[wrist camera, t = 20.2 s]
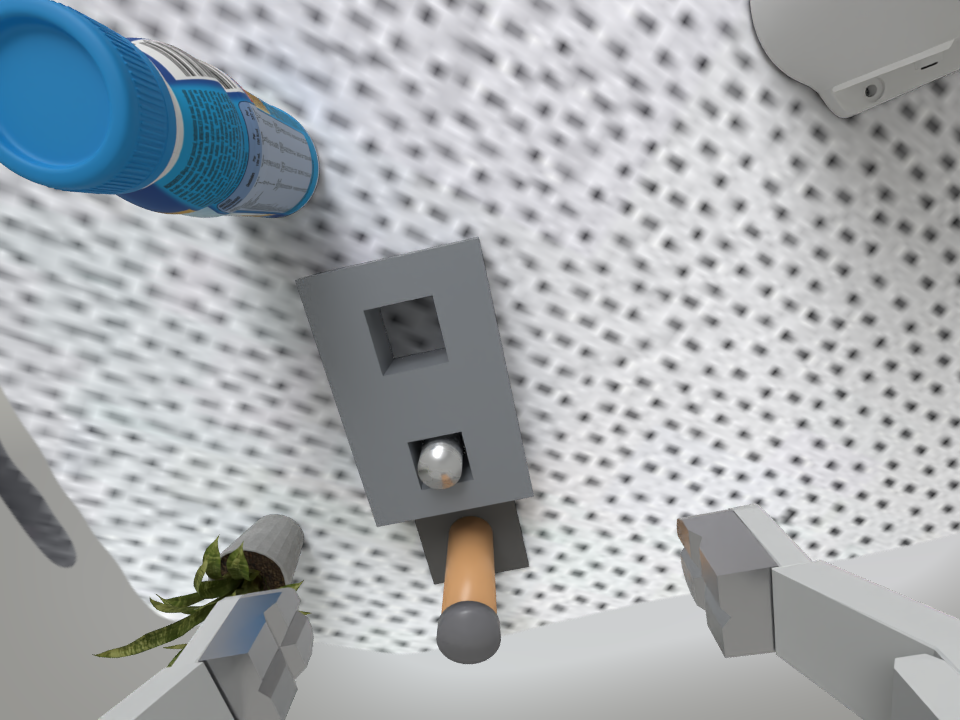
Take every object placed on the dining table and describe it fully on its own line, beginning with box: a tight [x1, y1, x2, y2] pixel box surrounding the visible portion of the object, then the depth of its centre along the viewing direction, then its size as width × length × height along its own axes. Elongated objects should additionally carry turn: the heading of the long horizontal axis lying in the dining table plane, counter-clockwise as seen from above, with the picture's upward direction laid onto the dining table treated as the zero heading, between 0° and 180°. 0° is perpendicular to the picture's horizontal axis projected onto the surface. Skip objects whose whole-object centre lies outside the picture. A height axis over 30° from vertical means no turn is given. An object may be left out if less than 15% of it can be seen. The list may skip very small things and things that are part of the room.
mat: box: [415, 500, 529, 584], centre depth 46 cm, size 10×10×1 cm
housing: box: [295, 237, 534, 527], centre depth 39 cm, size 22×14×5 cm, turn 12°
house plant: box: [95, 514, 312, 668], centre depth 38 cm, size 14×14×16 cm
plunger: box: [417, 432, 464, 489], centre depth 40 cm, size 4×4×6 cm
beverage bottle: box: [0, 0, 319, 218], centre depth 27 cm, size 8×8×20 cm
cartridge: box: [437, 516, 501, 664], centre depth 40 cm, size 5×5×12 cm
